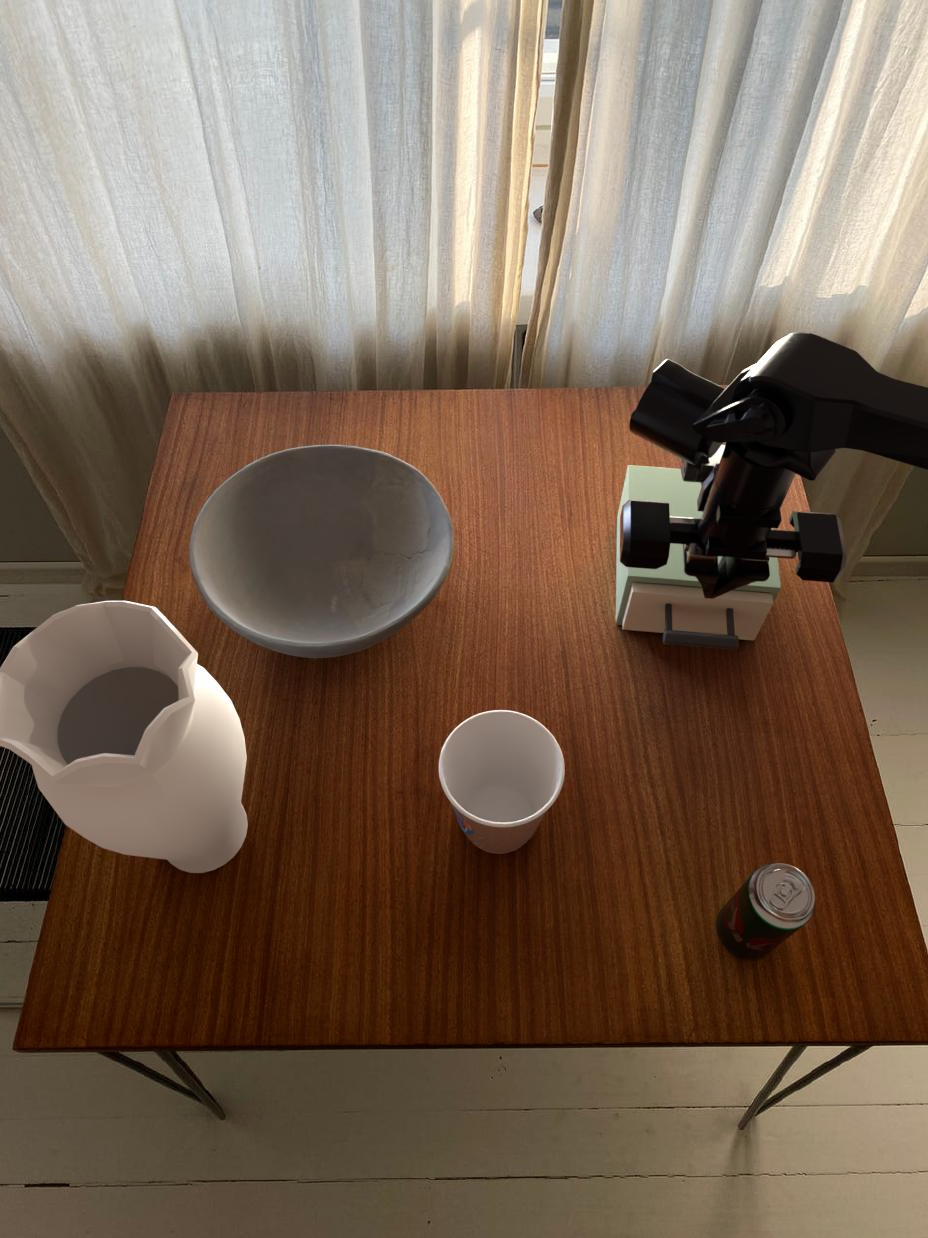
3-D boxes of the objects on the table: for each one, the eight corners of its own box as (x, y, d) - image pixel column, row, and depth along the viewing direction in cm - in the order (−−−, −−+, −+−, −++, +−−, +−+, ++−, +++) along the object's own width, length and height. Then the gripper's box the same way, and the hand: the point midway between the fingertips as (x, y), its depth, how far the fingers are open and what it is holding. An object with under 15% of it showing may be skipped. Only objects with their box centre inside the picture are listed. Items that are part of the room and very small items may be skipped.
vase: (301, 768, 84) (231, 597, 60) (259, 923, 76) (158, 799, 52) (155, 748, 85) (28, 573, 61) (99, 898, 78) (-73, 766, 53)
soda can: (785, 929, 75) (833, 889, 65) (753, 975, 73) (797, 941, 63) (735, 889, 77) (774, 844, 67) (702, 932, 75) (738, 893, 65)
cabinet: (756, 636, 92) (781, 588, 84) (615, 624, 93) (627, 575, 85) (746, 527, 100) (768, 474, 92) (616, 517, 101) (628, 464, 93)
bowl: (243, 493, 103) (222, 432, 95) (464, 506, 102) (463, 445, 94) (186, 687, 89) (157, 635, 81) (443, 705, 88) (440, 654, 79)
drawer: (757, 678, 88) (777, 642, 82) (622, 666, 89) (632, 630, 83) (745, 538, 98) (762, 497, 92) (623, 529, 99) (632, 487, 93)
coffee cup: (441, 769, 84) (437, 711, 74) (548, 764, 84) (558, 706, 74) (444, 875, 78) (440, 829, 68) (559, 870, 78) (571, 823, 68)
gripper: (856, 419, 74) (799, 535, 87) (633, 405, 75) (610, 522, 88) (876, 520, 67) (812, 629, 80) (633, 503, 69) (609, 613, 82)
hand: (708, 594), depth 83 cm, fingers closed
